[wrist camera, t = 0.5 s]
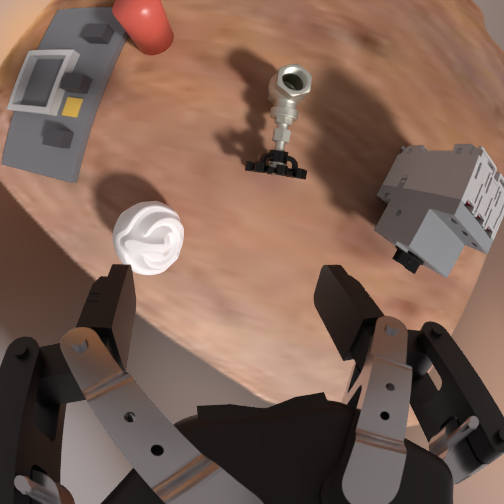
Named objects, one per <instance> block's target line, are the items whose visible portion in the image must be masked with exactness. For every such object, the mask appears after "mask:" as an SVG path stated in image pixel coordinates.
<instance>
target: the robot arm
mask: <svg viewBox="0 0 504 504" xmlns="http://www.w3.org/2000/svg"><path fill="white" fill-rule="evenodd" d="M369 296H370V295H369V294H368V293H367V291H365V289H364V287H363V286H362V285H361V284H360V282H359V281H357V280H356V279H354V278H353V277H352V276H349V275H348V274H347V272H346V271H345V270H344V268H343V267H342V266H341V265H324V266H323V267H322V269H321V272H320V275H319V279H318V282H317V286H316V289H315V293H314V304H315V307H316V309H317V311H318V313H319V315H320V317H321V319H322V321H323V322H324V324H325V326H326V328H327V330H328V332H329V334H330V336H331V338H332V340H333V342H334V344H335V346H336V348H337V349H338V351H339V353H340V355H341V357H342V359H343V361H346V360H351V359H354V360H355V364H354V366H353V368H352V371H351V375H350V378H349V381H348V384H347V388H346V391H345V394H344V397H343V400H342V402H341V403H340V402H336V401H328V400H327V399H326V396H325V394H324V392H322V393H317V394H311V395H305V396H299V397H294V398H292V399H289V400H287V401H284V402H282V403H279V404H277V405H274V406H271V407H269V408H255V407H247V406H239V405H231V404H227V405H209V406H208V405H207V406H197V413H198V414H197V415H194V416H190V417H187V418H185V419H182V420H181V421H179V422H177V423H175V424H174V425H173V424H172V423H171V422H170V421H169V420H168V419H167V418H166V417H165V416H164V415H163V413H162V412H161V411H160V410H159V409H158V408H157V407H156V405H155V404H154V403H153V402H152V401H151V400H150V399H149V397H148V396H147V395H146V394H145V392H144V391H143V390H142V389H141V388H140V386H139V385H138V384H137V383H136V381H135V380H134V379H133V378H132V376H131V375H130V374H129V373H127V372H126V367H127V360H128V353H129V346H130V340H131V334H132V328H133V322H134V316H135V311H136V294H135V287H134V280H133V273H132V267H131V265H130V264H113V265H112V267H111V269H110V272H109V275H108V277H103V276H101V277H100V278H99V279H98V280H97V281H96V282H94V283H93V285H92V287H91V290H90V292H89V295H88V297H87V300H86V302H85V305H84V307H83V310H82V313H81V315H80V318H79V321H78V323H77V326H76V328H74V329H72V330H70V331H68V332H67V333H66V334H65V335H64V336H63V337H62V339H61V342H60V343H58V344H54V345H48V346H43V347H39V345H38V343H37V342H36V340H34V339H33V338H31V337H21V338H18V339H16V340H14V341H13V342H12V343H11V344H10V345H9V347H8V349H7V351H6V353H5V356H4V358H3V361H2V364H1V367H0V504H75V502H74V499H73V496H72V494H71V493H70V492H69V491H68V489H67V488H66V487H64V486H63V485H61V484H60V467H61V449H62V435H63V426H64V417H65V410H66V403H69V402H76V401H81V400H86V399H87V401H88V403H89V404H90V406H91V408H92V409H93V411H94V413H95V414H96V416H97V417H98V419H99V421H100V422H101V424H102V425H103V426H104V428H105V429H106V431H107V433H108V434H109V435H110V437H111V438H112V440H113V441H114V442H115V444H116V445H117V447H118V448H119V449H120V451H121V452H122V453H123V455H124V456H125V457H126V459H127V460H128V461H129V462H130V464H131V465H132V466H133V467H134V468H133V469H132V470H131V471H130V472H129V473H128V475H127V476H126V477H125V478H124V479H123V480H122V481H121V482H120V483H119V484H118V486H117V487H116V488H115V489H114V490H113V491H112V492H111V493H110V494H109V495H108V496H107V498H106V499H105V500H104V501H103V502H102V503H101V504H453V485H454V484H458V483H460V482H461V481H463V480H465V479H466V478H468V477H470V476H472V475H473V474H475V473H476V472H478V471H479V470H481V469H483V468H484V467H485V466H487V465H488V464H490V463H491V462H493V461H494V460H496V459H497V458H498V457H500V456H501V455H502V454H504V417H503V415H502V413H501V411H500V410H499V408H498V406H497V405H496V403H495V402H494V400H493V398H492V396H491V395H490V393H489V392H488V390H487V388H486V387H485V385H484V384H483V382H482V380H481V379H480V377H479V376H478V374H477V373H476V371H475V370H474V368H473V367H472V366H471V364H470V362H469V361H468V359H467V358H466V357H465V355H464V354H463V352H462V351H461V350H460V348H459V347H458V345H457V344H456V343H455V341H454V340H453V338H452V337H451V336H450V334H449V333H448V332H447V330H446V329H445V328H444V327H443V326H441V325H440V324H438V323H435V322H426V323H424V325H423V326H422V328H421V330H420V331H416V330H407V328H406V326H405V325H404V324H403V323H402V322H401V321H400V320H398V319H396V318H394V317H391V316H385V315H384V314H383V313H382V311H381V310H380V309H379V307H378V306H377V305H376V303H375V302H374V301H373V299H372V298H371V297H369ZM432 364H433V365H434V367H435V369H436V370H437V372H438V373H439V375H440V377H441V379H442V386H441V389H440V390H439V391H438V390H437V389H436V386H435V385H434V383H433V381H432V380H431V378H430V376H429V374H428V373H427V371H428V370H429V368H430V367H431V366H432ZM409 403H410V405H411V407H412V409H413V411H414V413H415V415H416V417H417V419H418V421H419V423H420V425H421V427H422V430H423V432H424V434H425V436H426V438H427V440H428V442H429V451H427V450H426V449H424V448H422V447H420V446H418V445H416V444H415V443H413V442H411V441H409V440H407V439H406V438H405V432H406V425H407V419H408V411H409Z"/></svg>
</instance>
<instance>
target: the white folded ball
mask: <svg viewBox="0 0 504 504" xmlns="http://www.w3.org/2000/svg"><path fill="white" fill-rule="evenodd" d="M183 237H184V228H183V225H182V224H181V222H180V218H179V215H178V214H177V213H176V212H175V211H174V210H173V209H172V208H171V207H169V206H168V205H166V204H164V203H162V202H159V201H147V202H140V203H137V204H135V205H133V206H131V207H130V208H129V209H127V210H125V211H124V212H122V213H121V214H120V216H119V218H118V220H117V222H116V224H115V227H114V230H113V246H114V249H115V252H116V254H117V256H118V258H119V259H120V261H121V262H122V263H123V264H130V265H131V267H132V271H134V272H136V273H139V274H143V275H155V274H159V273H161V272H163V271H165V270H166V269H167V268H168V267H169V266H170V265H171V264H173V263H174V262H175V261H176V260H177V259H178V257H179V254H180V250H181V247H182V243H183Z"/></svg>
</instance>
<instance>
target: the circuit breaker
mask: <svg viewBox="0 0 504 504" xmlns="http://www.w3.org/2000/svg"><path fill="white" fill-rule="evenodd" d="M401 149H402V150H403V151H402V153H401V154H398V155H397V157H396V159H395V161H394V163H393V165H392V167H391V169H390V171H389V173H388V175H387V177H386V178H385V180H384V182H383V184H382V186H381V188H380V190H379V192H378V193H377V196H378V197H379V198H381V199H382V200H383V201H384V202H386V203H387V204H388V205H387V207H386V209H385V211H384V213H383V215H382V216H381V218H380V220H379V222H378V223H377V225H376V227H375V229H374V231H376V232H377V233H379V234H380V235H381V236H383V237H384V238H385V239H387V240H388V241H390V242H391V243H392V244H394V245H395V247H396V248H397V251H396V253H395V255H394V256H393V258H392V259H394V260H395V261H397V262H398V263H400V264H402V265H403V266H405V268H406V269H407V270H409V271H411V272H412V273H414V274H415V272H416V271H417V269H418V267H419V266H420V265H424V266H426V267H428V268H430V269H431V270H433V271H435V272H437V273H438V274H440V275H442V276H444V277H445V278H447V277H448V275H449V273H450V271H451V270H452V268H453V266H454V264H455V262H456V261H457V259H458V257H459V255H460V253H461V251H462V249H463V247H464V245H467V246H469V247H471V248H474V249H476V250H479V251H481V252H483V253H486V254H487V253H488V251H489V249H490V247H491V244H492V242H493V240H494V237H495V235H496V233H497V231H498V228H499V226H500V223H501V221H502V218H503V216H504V178H503V176H502V175H501V173H499V172H496V170H497V167H496V165H495V164H494V162H493V161H492V160H491V158H490V157H489V155H488V154H487V152H486V151H485V150H484V148H483V147H482V146H479V148H476V147H473V145H471V144H455V146H454V148H453V151H428V150H427V149H426V148H425V147H424V146H423V145H412V146H408V148H405V147H404V146H402V147H401ZM410 151H411V152H410ZM488 162H489V163H488Z"/></svg>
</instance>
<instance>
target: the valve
mask: <svg viewBox="0 0 504 504" xmlns="http://www.w3.org/2000/svg"><path fill="white" fill-rule="evenodd" d="M311 80H312V75H311V74H310V73H309V72H308V71H307V70H305V69H304V68H303V67H301V66H300V65H298V64H292V65H288V66H284V67H281V68H279V69H278V71H277V73H276V74H274V75H273V76H272V78H271V79H270V81H269V85H268V90H269V91H268V98H267V100H268V101H270V102H271V103H272V104H274V107H271V112H270V117H271V118H273V119H275V124H277V128H275V129H274V131H273V138H272V141H274V142H276V143H275V150H270V152H269V153H265V154H263V155H262V156H261V158H260V161H259V162H256V163H252V162H250V161H246V165H245V171H252V172H259V173H260V172H261V173H267V174H272V175H282V176H286V177H292V178H299V179H306V175H307V171H306V170H305V169H300V168H298V163H297V161H296V160H295V159H294V158H293V157H291V156H288V152H285V151H284V147H285V143H289V139H290V132H291V131H290V130H288V126H291V124H292V122H294V121H297V120H298V114H299V112H298V111H297V110H296V105H297V104H298V103H300V102H301V101H302V100H303V99H304V98H305V96H306V94H308V93H309V92H310V88H311ZM287 87H288V88H287ZM268 158H269V159H268ZM267 159H268V163H269V165H268V166H266V160H267ZM287 161H290V162H291V163H292V169H290V168H288V166H287Z"/></svg>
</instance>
